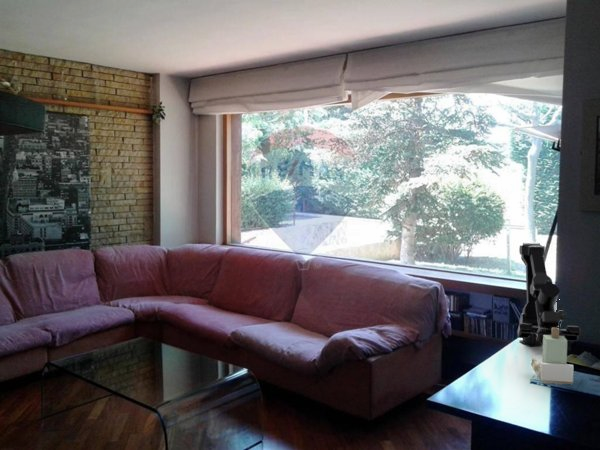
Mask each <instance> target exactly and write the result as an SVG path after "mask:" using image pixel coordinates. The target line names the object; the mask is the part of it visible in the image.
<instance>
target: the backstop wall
mask: <svg viewBox="0 0 600 450" xmlns="http://www.w3.org/2000/svg"><path fill="white" fill-rule="evenodd" d="M574 370H575V369H574V364H570V363H569V364H568V363H566V364H556V363H541V380H552V381H565V382H573V383H574Z"/></svg>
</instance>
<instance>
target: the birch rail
mask: <svg viewBox="0 0 600 450" xmlns="http://www.w3.org/2000/svg"><path fill="white" fill-rule="evenodd" d="M541 363H542V361H540V362H538V360H537V359H536V357H532V358H531V362H530V364H531V367H532V369H533V371H534V372H535V374H536V376H537V375H538V376H537V377H539V378H538V379H539V381H540V383H541V382H545V383H544V384H550V383H555V384H554V385H562V384H573V385H574V381H573V382H565V381H552V380H541Z"/></svg>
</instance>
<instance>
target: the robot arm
mask: <svg viewBox="0 0 600 450" xmlns="http://www.w3.org/2000/svg"><path fill="white" fill-rule="evenodd" d="M545 249H546V247H545V245H541V243H540V242H523V243H522V244H521V245H519V251H518V252H519V255H520V259H521V261H522V262H523V264H524V266H525V281H526V282H525V284H526V286H525V287H526V288H525V289H526V290H525V291H526V304H525V305H524V307H523V308H522V312H521V314H520V318H519V324H518V328H517V337H518V339H519V338H520V339H522V340H519V343H522V344H524V345H526V346H528V347H537V346H543V335H551V330H552V327H556V328H557V327H559V322H560V321H561V322H564V321H566V320H567V313H566V311H565V310H564V309H563V310H559V311H558V312H555V310H554V305H555V303H556V301H557V299H558V298H559V295H560V292H561V291H560V288H559V287H558V285H556V284H554V282H553V280H552V278H551V277H550V276H549V275H548V274H547V271H546V269H547V268H546V263H545V258H544V256H545V254H546V252H545V251H546V250H545ZM581 335H582V328H581V327H580V326H578V325H566V327H565V328H563V329H562V328H560V329H559V336H564V337H565V338H566V339H567V342H578V341H579V340H580V337H581Z"/></svg>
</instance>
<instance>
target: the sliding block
mask: <svg viewBox="0 0 600 450" xmlns="http://www.w3.org/2000/svg"><path fill="white" fill-rule="evenodd" d="M541 356H542V358H541V359H542V360H541V362H542V363H556V364H568V363H567V358H568V341H567V339H566V338H565V337H564V335H562V336H559V328H556V327H552V330H551V335H543V345H542V355H541Z"/></svg>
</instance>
